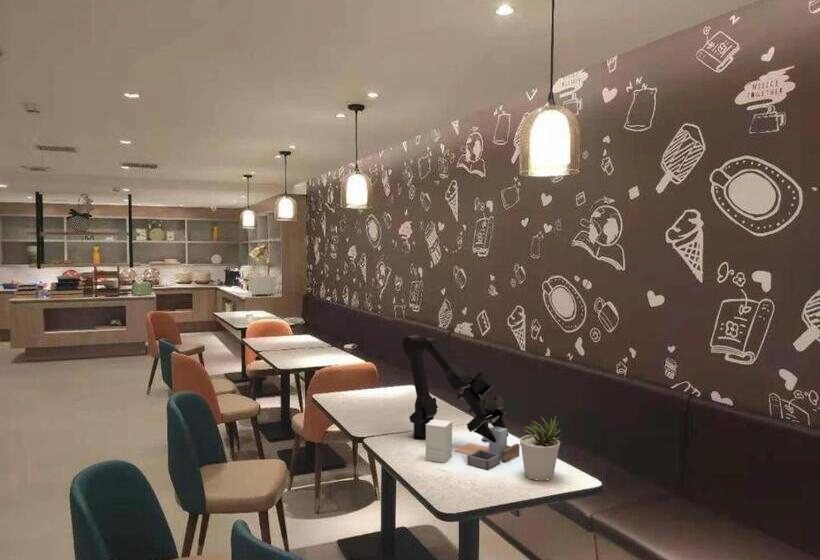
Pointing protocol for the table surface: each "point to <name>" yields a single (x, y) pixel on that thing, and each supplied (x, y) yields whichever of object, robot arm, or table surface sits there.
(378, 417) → the table surface
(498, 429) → the slate block
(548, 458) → the potted plant
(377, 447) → the table surface
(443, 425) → the supplement box
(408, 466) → the table surface
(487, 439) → the pacifier
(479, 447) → the pad
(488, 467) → the dark grey open box
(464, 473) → the table surface
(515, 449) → the walnut bracket
